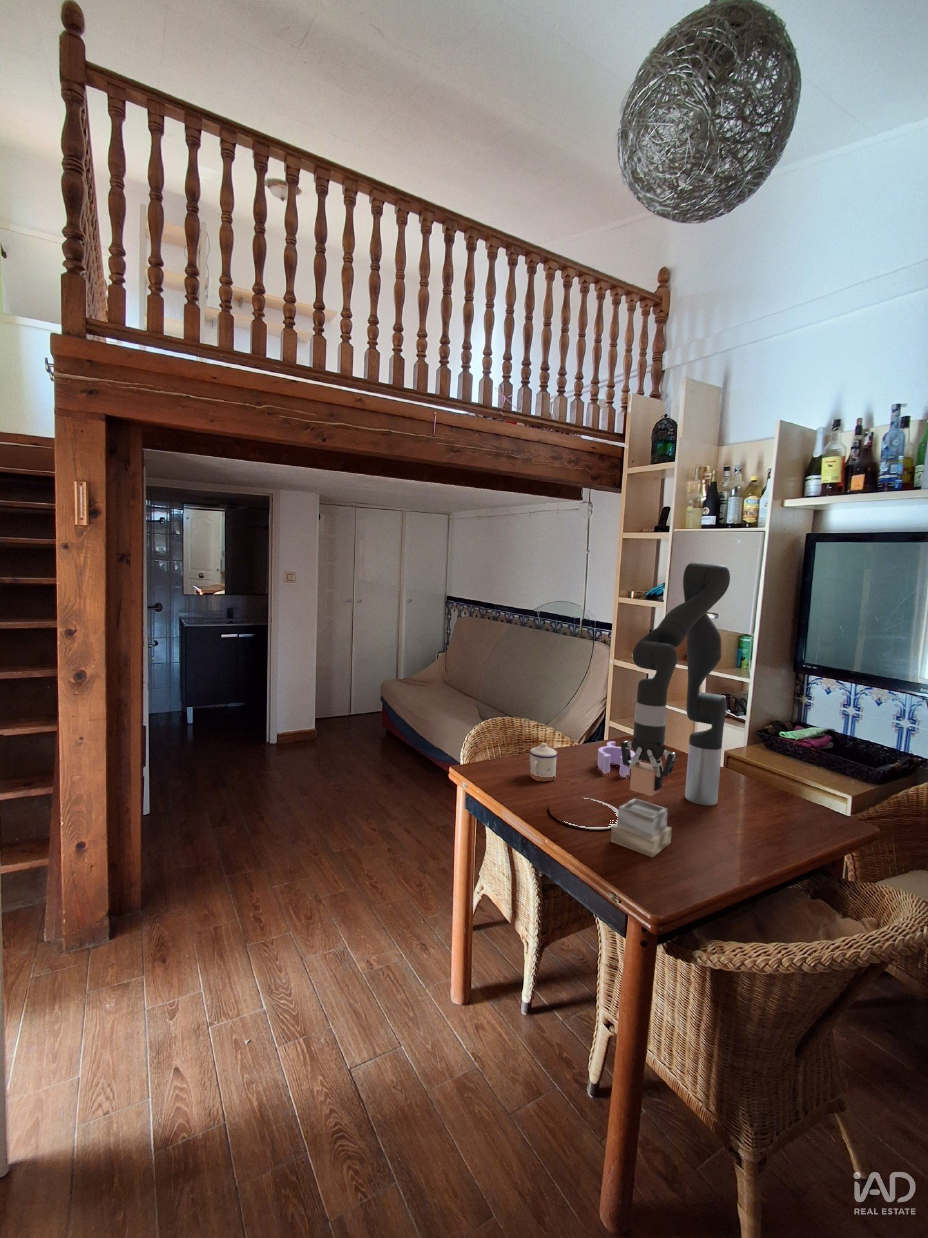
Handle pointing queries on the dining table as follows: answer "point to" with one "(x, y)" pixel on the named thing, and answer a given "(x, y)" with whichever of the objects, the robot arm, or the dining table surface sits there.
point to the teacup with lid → (543, 761)
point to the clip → (612, 758)
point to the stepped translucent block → (642, 827)
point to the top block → (643, 778)
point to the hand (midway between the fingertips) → (645, 786)
